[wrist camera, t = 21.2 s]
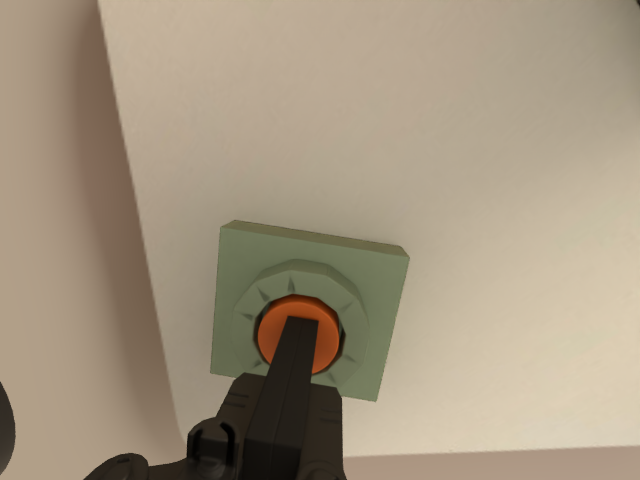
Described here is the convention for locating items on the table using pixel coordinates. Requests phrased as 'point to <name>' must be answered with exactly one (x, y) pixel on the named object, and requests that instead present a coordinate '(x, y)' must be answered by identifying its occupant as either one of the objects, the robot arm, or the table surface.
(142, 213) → the table surface
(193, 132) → the table surface
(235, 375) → the control block
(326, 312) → the orange button
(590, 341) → the table surface
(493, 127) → the table surface
